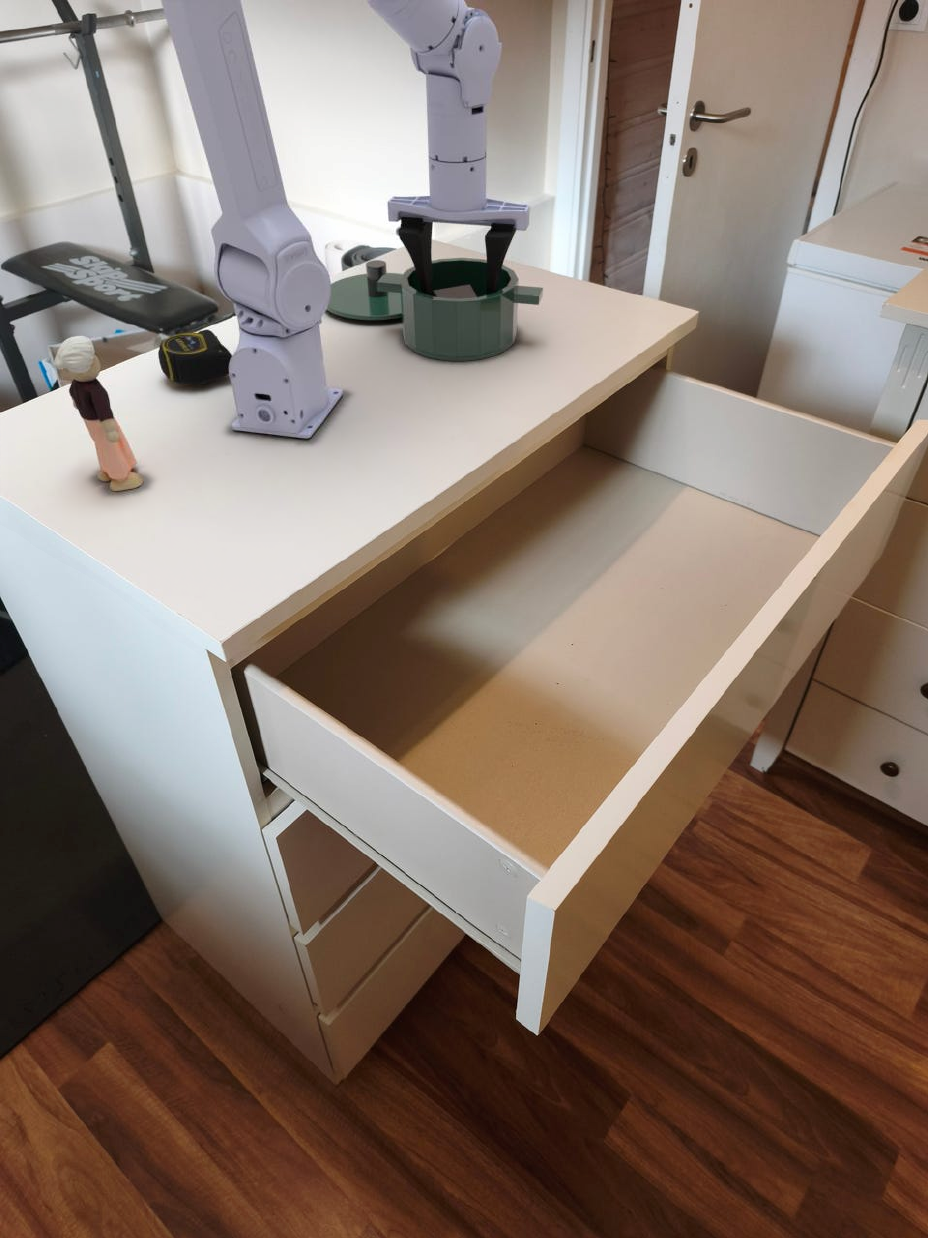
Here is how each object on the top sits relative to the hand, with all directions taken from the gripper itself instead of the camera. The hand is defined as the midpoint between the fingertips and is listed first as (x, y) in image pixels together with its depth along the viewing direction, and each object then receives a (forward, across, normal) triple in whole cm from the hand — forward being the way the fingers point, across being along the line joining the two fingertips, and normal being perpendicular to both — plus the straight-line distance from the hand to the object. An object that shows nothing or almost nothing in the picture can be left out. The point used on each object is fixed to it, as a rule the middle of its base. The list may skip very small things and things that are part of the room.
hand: (459, 293), depth 93 cm
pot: (+5, 0, 0) cm, 5 cm away
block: (+4, 0, 0) cm, 4 cm away
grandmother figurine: (+5, +22, +35) cm, 42 cm away
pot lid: (+4, +12, -8) cm, 15 cm away
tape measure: (+5, +24, +15) cm, 29 cm away
